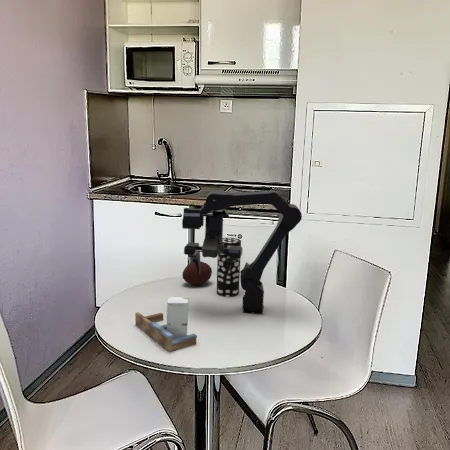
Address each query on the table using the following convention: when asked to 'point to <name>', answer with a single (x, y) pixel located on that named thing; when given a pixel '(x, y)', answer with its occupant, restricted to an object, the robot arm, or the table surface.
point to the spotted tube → (231, 282)
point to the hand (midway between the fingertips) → (212, 275)
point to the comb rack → (162, 332)
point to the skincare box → (177, 316)
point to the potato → (192, 274)
